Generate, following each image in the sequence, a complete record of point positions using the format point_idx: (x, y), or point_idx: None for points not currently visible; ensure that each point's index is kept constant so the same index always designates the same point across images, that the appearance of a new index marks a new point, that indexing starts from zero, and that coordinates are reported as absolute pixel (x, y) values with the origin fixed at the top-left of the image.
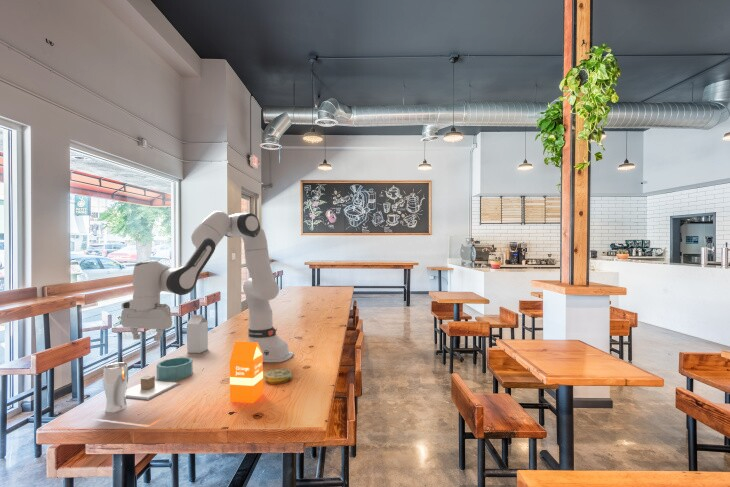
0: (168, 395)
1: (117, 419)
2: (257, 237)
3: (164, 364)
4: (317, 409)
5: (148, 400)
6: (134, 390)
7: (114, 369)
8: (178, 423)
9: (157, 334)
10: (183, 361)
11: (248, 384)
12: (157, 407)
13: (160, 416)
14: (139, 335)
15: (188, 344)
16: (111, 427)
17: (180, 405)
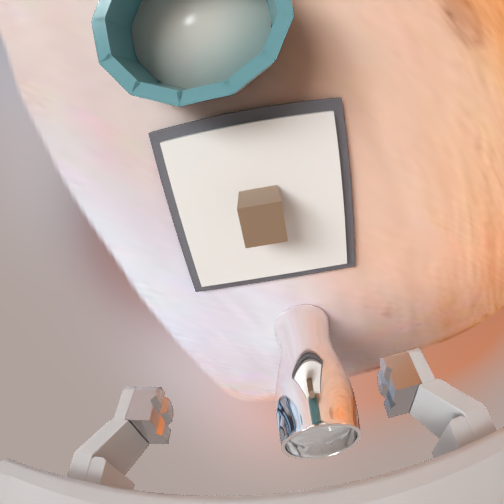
0: (372, 195)
1: (355, 346)
2: None
3: (115, 35)
4: None
5: (352, 263)
6: (231, 242)
7: (345, 446)
8: (493, 299)
9: (437, 422)
10: None
11: None
12: (406, 271)
13: (445, 298)
14: (155, 416)
15: None
16: (374, 365)
17: (458, 238)
